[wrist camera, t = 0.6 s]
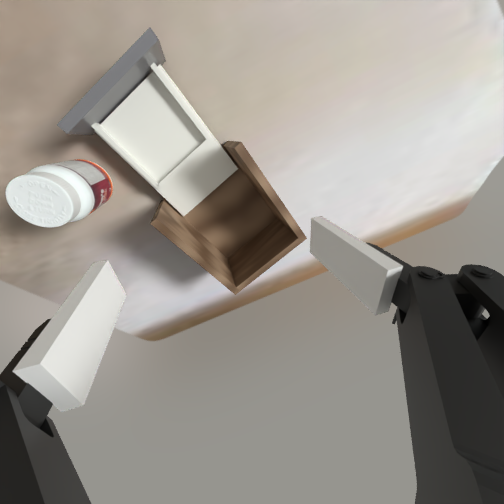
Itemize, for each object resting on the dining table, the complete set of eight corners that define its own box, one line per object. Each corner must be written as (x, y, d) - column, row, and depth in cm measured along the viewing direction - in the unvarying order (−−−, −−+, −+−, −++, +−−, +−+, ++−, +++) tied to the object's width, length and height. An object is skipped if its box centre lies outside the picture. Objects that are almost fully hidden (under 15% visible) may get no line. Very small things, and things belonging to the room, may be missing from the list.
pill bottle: (102, 211, 32) (64, 243, 22) (54, 186, 29) (-14, 210, 19) (122, 178, 30) (90, 197, 21) (74, 148, 28) (11, 153, 18)
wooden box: (160, 201, 33) (150, 223, 25) (227, 140, 32) (241, 142, 23) (226, 262, 41) (235, 294, 33) (282, 216, 40) (306, 238, 31)
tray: (84, 127, 26) (56, 124, 21) (159, 51, 25) (149, 27, 19) (180, 216, 35) (178, 231, 29) (240, 163, 33) (250, 168, 28)
